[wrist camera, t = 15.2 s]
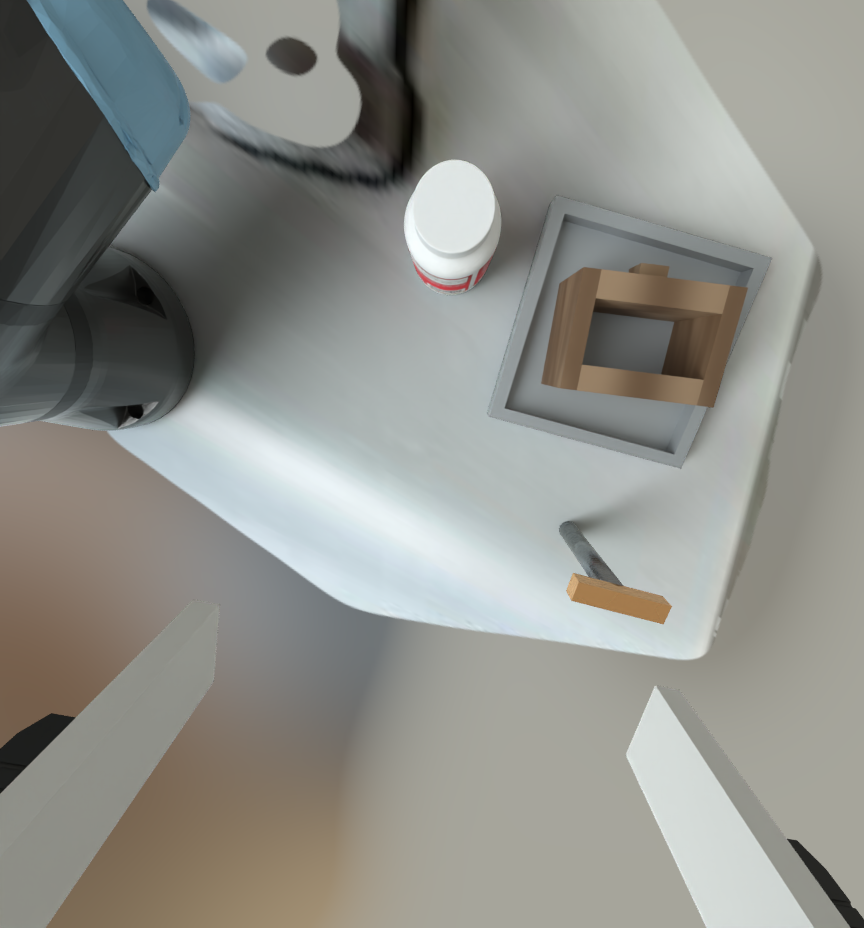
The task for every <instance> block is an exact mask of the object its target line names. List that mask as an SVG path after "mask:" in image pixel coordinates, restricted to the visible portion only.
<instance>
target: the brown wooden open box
mask: <svg viewBox="0 0 864 928" xmlns="http://www.w3.org/2000/svg"><path fill="white" fill-rule="evenodd" d="M669 267H670V266H663V265H655V264H647V263H640V264H638V265H636V266H634V267H632V268H630V269H629V272H620V271H612V270H604V269H596V268H588V267H583V268H582V269H580V270H579V271H577V272H576V273H574V274H573V275H571V276H570V277H568V278H567V279H565V280H564V281H562V282H561V283H559V288H558V294H557V299H556V305H555V310H554V315H553V321H552V326H551V332H550V337H549V343H548V348H547V354H546V359H545V364H544V370H543V375H542V381H541V384H544V385H548V386H552V387H556V388H561V389H569V390H577V391H585V392H593V393H601V394H609V395H617V396H625V397H633V398H641V399H649V400H657V401H665V402H673V403H681V404H688V405H696V406H704V407H712V408H713V407H714V404H715V400H716V397H717V394H718V390H719V387H720V383H721V380H722V376H723V373H724V369H725V366H726V363H727V359H728V356H729V352H730V349H731V345H732V342H733V338H734V335H735V332H736V328H737V325H738V321H739V318H740V314H741V311H742V307H743V304H744V301H745V297H746V294H747V290H748V288H747V287H739V286H731V285H723V284H715V283H707V282H699V281H691V280H683V279H676V278H668V277H667V276H668V271H669ZM593 312H599V313H607V314H615V315H622V316H630V317H638V318H646V319H654V320H662V321H670V322H674V325H673V329H672V333H671V337H670V341H669V345H668V349H667V353H666V357H665V360H664V364H663V368H662V372H661V374H653V373H645V372H637V371H629V370H621V369H613V368H605V367H597V366H589V365H582V363H583V358H584V353H585V348H586V343H587V338H588V333H589V329H590V324H591V319H592V314H593Z"/></svg>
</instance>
